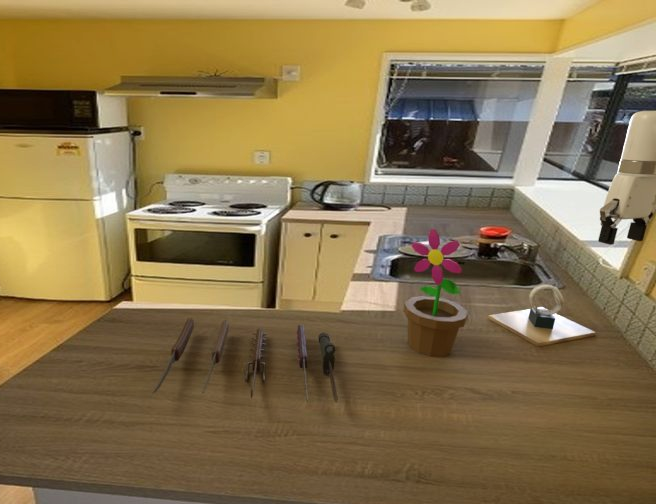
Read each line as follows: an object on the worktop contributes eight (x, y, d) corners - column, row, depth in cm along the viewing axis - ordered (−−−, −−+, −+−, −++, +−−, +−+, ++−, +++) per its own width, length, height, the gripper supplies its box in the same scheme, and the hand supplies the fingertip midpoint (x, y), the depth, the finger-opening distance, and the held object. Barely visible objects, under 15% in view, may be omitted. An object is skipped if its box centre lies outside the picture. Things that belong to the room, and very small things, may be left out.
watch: (561, 330, 112) (571, 291, 108) (527, 325, 113) (536, 287, 110) (553, 320, 117) (563, 283, 113) (521, 316, 119) (529, 280, 115)
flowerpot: (388, 343, 105) (402, 225, 95) (418, 326, 114) (434, 217, 104) (442, 369, 95) (465, 240, 85) (471, 347, 104) (494, 229, 94)
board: (541, 310, 126) (541, 306, 125) (595, 335, 111) (596, 332, 111) (487, 318, 120) (488, 315, 119) (537, 346, 105) (538, 343, 105)
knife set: (148, 417, 76) (146, 379, 73) (188, 334, 107) (188, 306, 105) (344, 429, 75) (348, 391, 73) (326, 342, 107) (329, 314, 105)
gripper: (647, 165, 102) (628, 234, 107) (595, 168, 96) (578, 240, 102) (684, 169, 95) (662, 242, 100) (630, 171, 90) (610, 249, 95)
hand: (620, 241), depth 101 cm, fingers open, 9 cm apart
